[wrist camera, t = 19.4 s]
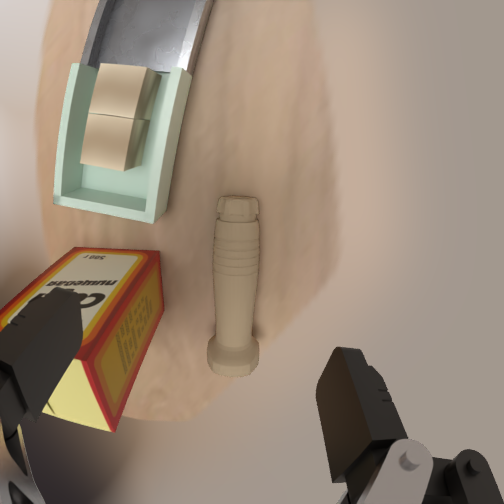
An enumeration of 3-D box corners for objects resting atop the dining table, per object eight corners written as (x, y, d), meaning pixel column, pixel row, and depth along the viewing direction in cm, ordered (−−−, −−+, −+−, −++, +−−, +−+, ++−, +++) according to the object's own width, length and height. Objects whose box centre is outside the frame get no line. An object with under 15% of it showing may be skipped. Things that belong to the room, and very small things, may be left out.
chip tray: (93, 69, 22) (72, 63, 18) (192, 76, 22) (182, 67, 19) (75, 193, 26) (53, 203, 22) (166, 210, 27) (153, 223, 23)
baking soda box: (159, 250, 28) (83, 365, 13) (164, 310, 31) (113, 436, 16) (74, 247, 28) (-26, 335, 13) (85, 302, 31) (9, 403, 16)
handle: (270, 202, 22) (258, 378, 26) (267, 195, 28) (258, 341, 32) (201, 199, 22) (203, 375, 26) (213, 193, 28) (212, 338, 32)
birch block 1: (120, 70, 22) (100, 63, 18) (162, 75, 22) (147, 67, 18) (109, 113, 23) (88, 112, 19) (150, 119, 24) (133, 118, 20)
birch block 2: (109, 114, 23) (88, 113, 19) (150, 120, 24) (133, 119, 20) (101, 157, 25) (80, 163, 21) (140, 165, 25) (123, 171, 21)
